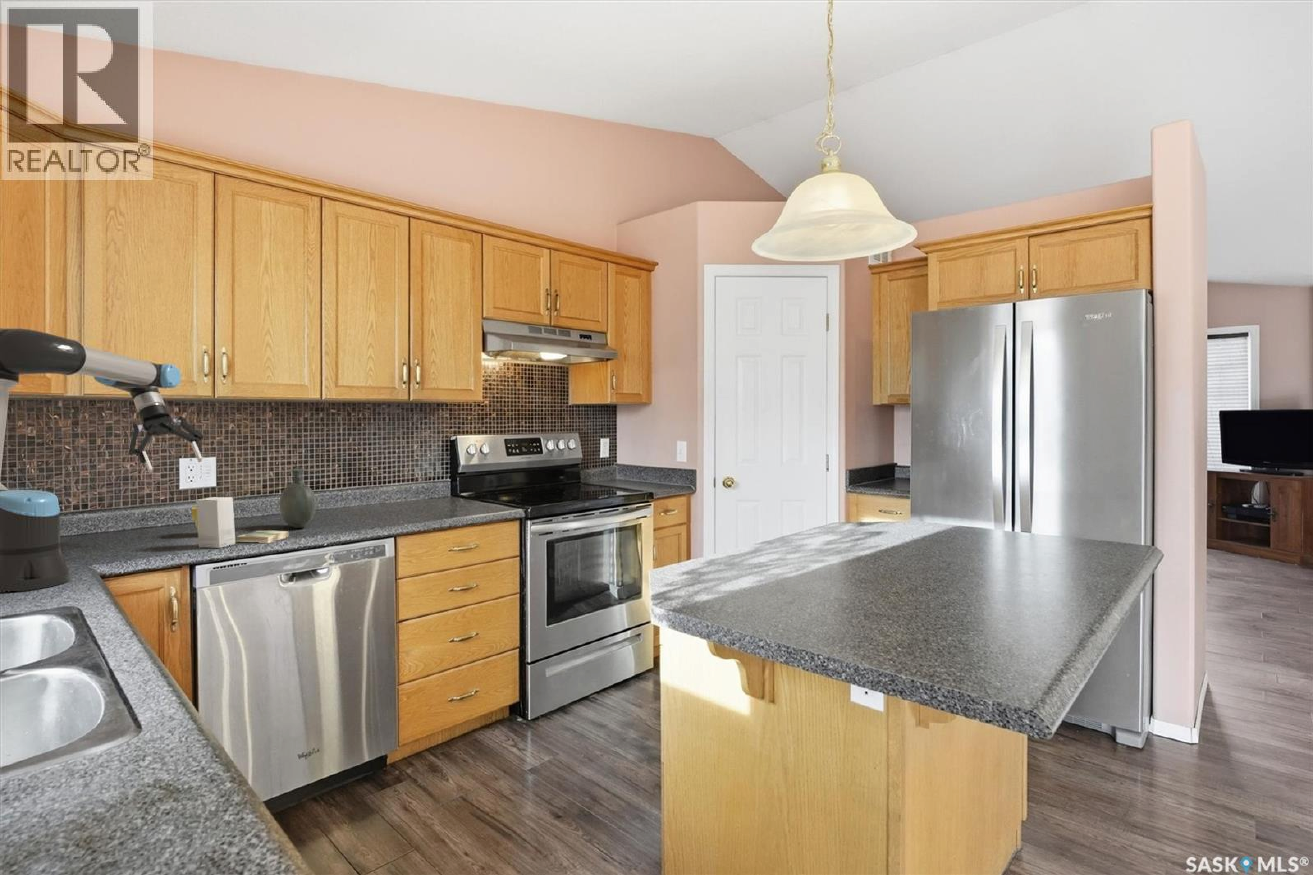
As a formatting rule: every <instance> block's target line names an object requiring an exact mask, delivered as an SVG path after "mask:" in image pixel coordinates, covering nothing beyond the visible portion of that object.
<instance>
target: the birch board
mask: <svg viewBox="0 0 1313 875" xmlns="http://www.w3.org/2000/svg"><path fill="white" fill-rule="evenodd" d="M289 533H290V532H289V531H288V530H256V531H255V530H254V531H251V532H247V533H245V534H240V535H237V536H235V543H236V542H259V543H258V544H269V543H273V542H276V540H277V541H279V540H283V539H287V538H289V537H288V536H290V535H289ZM286 537H287V538H286Z"/></svg>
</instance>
